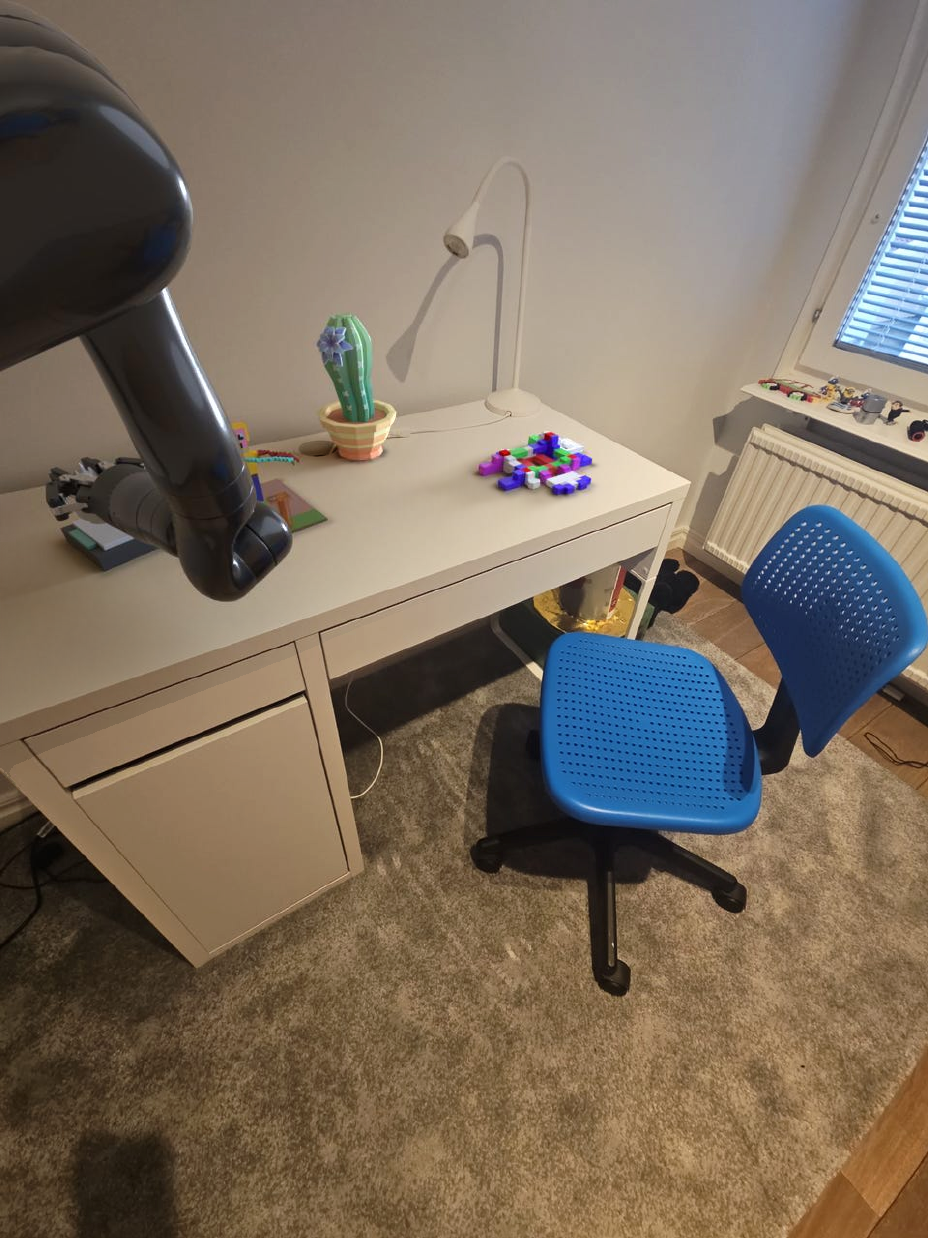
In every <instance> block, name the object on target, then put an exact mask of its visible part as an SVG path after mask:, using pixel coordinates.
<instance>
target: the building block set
mask: <svg viewBox="0 0 928 1238" xmlns="http://www.w3.org/2000/svg"><path fill="white" fill-rule="evenodd" d="M527 440H528V441H527V445H525V446H519V447H516V448H512V449H510V448H502V449H498V451H496V452H495V454H492V455H491V460H489V461H486V462H482V463H479V464H478V470H477V471H478V473H479V474H480V475H481V476H483V477H484V476H488V475H491V474H495V473H498V472H501V471H503V472H504V473H506V474H511V473H512V475H509V476H507V477H503V478H499V479H497V487H498V488H500V489H502V490H503V491H505V492H508V491H511V490H514V489H517V488H520V486H522V485H526V486H527V489H531V490H535V489H538V488H540V487H541V483H542V484H544V485H546V486H548V487H549V488H550V489H551V492H552V493H554V494H555V495H557V496H559V495H561V494H564V493H565V495H571V494H573V493H574V492H575V490H576V489H578V490H580V491H581V490H585V489H588V486H589V485H591V484H592V483H591V482H592V477H589V476H587V475H586V474H585V475H581V474H579V473H578V472H576V471H578V470H580V468H582V467H587V466H589V465H592V462H593V458H592V457H591V456H588V455H586V454H583V453H582V452H583V451H584V446H583V445H581V444H580V443H578V442H576V441H574V440H571V439H569V438H567V437H566V438H563V439H562V437H560V436H559V435H558V434H556V433H554V432H552V431H550V430H544V431H542V432H539V433H538V434H532V435H528V439H527ZM533 462H535V464H538V465H539V466H537V465H535V464H534V463H533ZM554 475H556V476H554Z"/></svg>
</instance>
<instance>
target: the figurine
mask: <svg viewBox="0 0 928 1238" xmlns="http://www.w3.org/2000/svg"><path fill="white" fill-rule="evenodd" d="M230 423H231V422H230ZM231 425H232V427H233V430H234V432H235V434H236V436H237V439H238V441H239V444H240V446H241V449H242V452H243V454H244V457H245V460H246V463H247V466H248V468H249V471H250V474H251V477H252V480H253V482H254V486H255V489H256V494H257V500H258V501H260V502H263V503H264V504H266V505H268V506H270V507H272V508H273V509H274V510H276V511H277V512H278V513H279V514H280V515H281V516H282V517H283V518H284V519H285V521H286V522H287V524H288V525H289V527H290V530H291V533H292V534H293V533H296V532H299V531H301V530H305V529H307V528H310V527H313V526H315V525H318V524H321V523H324V522H327V521H328V517H327V516H325V515H324V514H323V513H322V512H320V511H319V510H317V508H315V507H314V506H313V505H311V504H310V503H309V502H308V501H306V500H305V499H304V498H302V497H301V496H300V495H299V494H298V493H296V492H295V491H294V490H293V489H291V488H290V487H289V486H288V485H286V484H285V483H284V482H282V481H281V480H280V479H278V478H275V479H271V480H267V481H264V482H262V483H261V482H260V481H261V480H260V478H259V469H258V465H257V464H259V463H262V462H263V463H267V462H270V463H273V462H281V463H282V462H284V463H290V464H291V465H293V466H294V467H297V466H298V463H300V459H299V458H298V457H297V456H295V455H294V454H292V453H291V452H286V451H274V450H272V451H271V450H269V449H256V450H255V449H253V450H251V448H250V447H249V442H251V439H250V434H249V431H248V427H247V424H246V422H244V421H239V422H232V423H231ZM266 455H268V457H266Z"/></svg>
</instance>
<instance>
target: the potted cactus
mask: <svg viewBox="0 0 928 1238" xmlns="http://www.w3.org/2000/svg"><path fill="white" fill-rule="evenodd" d="M315 344H316V347H317V348H318V353H320V356H321V361H322V365H323V367H324V369H325V370H326V372H327V374H328V376H329V378H330V380H331V382H332V383H333V386H334V389H335V392H336V395H337V398H338V400H337V401H334V402H331V403H328V404H325V405H323V406H322V407H321V408H320V409H319V410H317V412H316V414H317V417H318V420H319V422H320V424H321V426H322V428H323V429H326V431H327V433H328V435H329V437H330V439H331V441H332V442H333V444H334V445H335V446H336V447H337V448H338V449H337V450H338V452H337V453H338V454H339V456H340V457H341V458H345V459H347V460H352V461H365V460H373V459H375V458H377V457H379V456H381V454H382V453H383V451H384V450H383V447H382V445H383V443H384V442H385V440H386V439H387V437H388V435H389V433H390V429H391V426H392V425H393V424H394V422H395V420H396V416H397V411H396V410H395V408H394V407H393V406H392V405H391V404H389V403H386V402H383V401H380V400H378V399H374V394H373V393H374V392H373V388H372V381H371V376H372V369H373V341H372V338H371V337H370V334H369V332H368V331H367V329H366V328H365V326H364V325H363V323H361V321H360V320H359V319H358V317H357V316H356V315H355V314H352V315H351V313H350V312H346V313H345V314H344V315H343V314H340V313H339V312H338V313H335V316H333V315H330V317H329V319H328V321H327V323H326V325H325V327H324V329H323V331H322V332H321V333H320V334H319V339H318V340H317V342H316V343H315Z"/></svg>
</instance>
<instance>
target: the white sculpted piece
mask: <svg viewBox="0 0 928 1238" xmlns="http://www.w3.org/2000/svg"><path fill="white" fill-rule="evenodd" d="M78 467H79V468H78V469H79V472H78V471H77V470H76V469H74V470H73V475H74V476H75V475H77V474H84V475H88V476H98V475H99V474H97V473H96V472H95V471H93V470H92V469H91V468H90V467H88V471H86V469H85V467H84V465H83V464H82V463H80V462H78ZM73 500H75V498H73ZM74 512H75V513H76V515H77V516H78V517H79V519H83V520H85V521H89V522H90V523H93V524H105V523H106V522H104V521H103V520H102V519H100V518H99V517H98V516H97V515H96V514H91V513H84V512H83V511H81V510H77V511H74Z"/></svg>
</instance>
